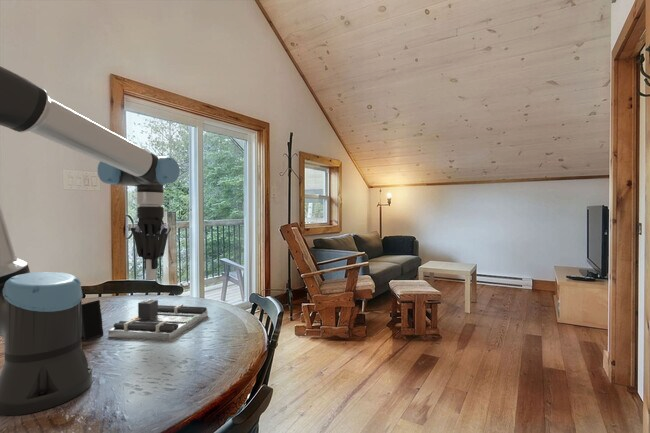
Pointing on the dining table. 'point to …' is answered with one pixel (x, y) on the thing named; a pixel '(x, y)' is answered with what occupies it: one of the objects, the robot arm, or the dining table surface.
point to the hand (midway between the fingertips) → (151, 278)
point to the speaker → (91, 320)
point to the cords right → (181, 309)
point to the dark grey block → (147, 309)
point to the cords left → (146, 325)
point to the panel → (180, 318)
